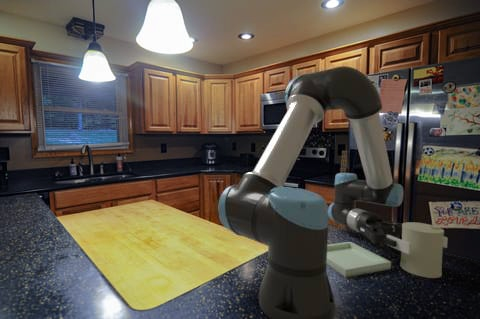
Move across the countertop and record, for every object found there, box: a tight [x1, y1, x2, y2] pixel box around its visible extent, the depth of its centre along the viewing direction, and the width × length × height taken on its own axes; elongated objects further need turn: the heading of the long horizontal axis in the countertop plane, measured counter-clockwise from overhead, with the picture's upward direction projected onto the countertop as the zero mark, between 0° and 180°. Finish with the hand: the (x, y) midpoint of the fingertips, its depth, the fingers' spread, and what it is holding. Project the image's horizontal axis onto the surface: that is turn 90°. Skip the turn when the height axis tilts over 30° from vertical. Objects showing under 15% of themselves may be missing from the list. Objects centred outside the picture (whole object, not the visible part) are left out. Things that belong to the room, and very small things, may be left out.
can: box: [399, 221, 445, 279], centre depth 68 cm, size 9×9×12 cm
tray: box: [326, 241, 392, 278], centre depth 73 cm, size 15×15×2 cm
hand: (428, 245), depth 67 cm, fingers open, 13 cm apart
